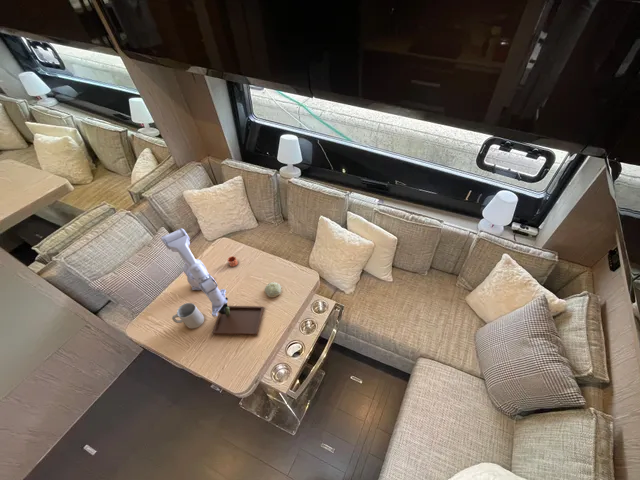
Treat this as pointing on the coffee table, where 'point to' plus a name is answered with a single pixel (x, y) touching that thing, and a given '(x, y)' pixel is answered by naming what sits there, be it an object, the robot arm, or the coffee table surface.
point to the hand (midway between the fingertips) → (224, 311)
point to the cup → (232, 261)
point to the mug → (189, 315)
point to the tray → (239, 321)
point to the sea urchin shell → (273, 289)
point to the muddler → (227, 311)
